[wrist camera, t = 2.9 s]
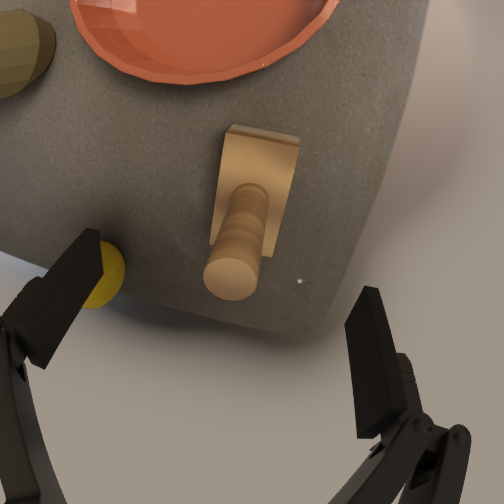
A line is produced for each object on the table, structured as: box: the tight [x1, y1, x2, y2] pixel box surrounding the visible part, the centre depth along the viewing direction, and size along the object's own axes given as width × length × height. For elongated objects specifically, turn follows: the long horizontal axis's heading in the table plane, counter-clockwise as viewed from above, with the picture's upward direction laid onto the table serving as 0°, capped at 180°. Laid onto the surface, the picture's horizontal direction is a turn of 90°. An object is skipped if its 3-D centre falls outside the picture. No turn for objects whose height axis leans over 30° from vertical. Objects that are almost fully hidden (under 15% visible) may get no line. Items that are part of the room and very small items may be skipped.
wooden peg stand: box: [203, 124, 300, 301], centre depth 20 cm, size 9×5×12 cm, turn 170°
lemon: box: [82, 241, 125, 309], centre depth 27 cm, size 6×6×8 cm
